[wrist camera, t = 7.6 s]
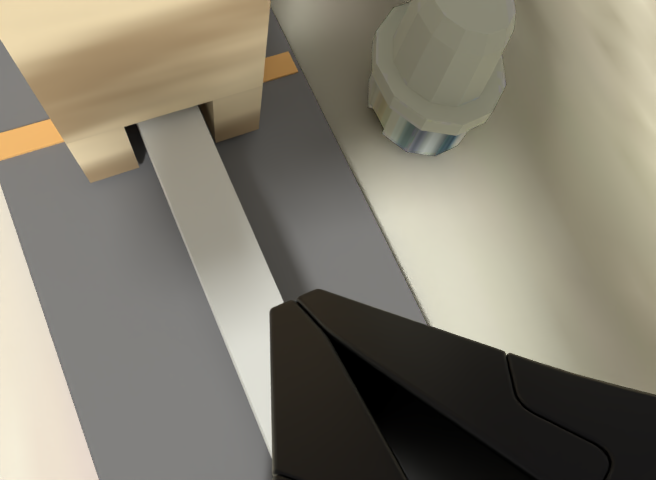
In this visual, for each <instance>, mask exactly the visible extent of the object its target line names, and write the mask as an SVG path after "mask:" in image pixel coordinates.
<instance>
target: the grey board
mask: <svg viewBox="0 0 656 480" xmlns="http://www.w3.org/2000/svg"><path fill="white" fill-rule="evenodd" d="M124 128H125V131H126V134H127V136H128V139H129V141H130V144H131V147H132V149H133V152H134V154H135V157H136V160H137V162H138V165H139V168H136V169H133V170H130V171H127V172H124V173H120V174H117V175H114V176H111V177H108V178H105V179H102V180H99V181H96V182H92V183H90V182H89V180H88V178H87V177H86V175H85V174H84V172H83V170H82V169H81V167H80V166H79V164H78V162H77V161H76V159H75V158H74V156H73V154H72V153H71V151H70V150H69V148H68V146H67V145H66V143H65V142H64V140H63V138H62V137H61V135H60V134H59V132H58V130H57V129H56V127H55V126H54V124H53V123H52V121H51V119H50V118H49V116H48V115H47V113H46V111H45V110H44V108H43V107H42V105H41V103H40V102H39V100H38V99H37V97H36V95H35V94H34V92H33V91H32V89H31V87H30V86H29V84H28V83H27V81H26V79H25V78H24V76H23V75H22V73H21V71H20V70H19V68H18V67H17V65H16V64H15V62H14V60H13V59H12V57H11V56H10V54H9V52H8V51H7V49H6V48H5V46H4V44H3V43H2V41H1V40H0V184H1V187H2V190H3V193H4V196H5V199H6V202H7V205H8V208H9V211H10V214H11V217H12V220H13V223H14V226H15V229H16V232H17V235H18V238H19V241H20V244H21V247H22V250H23V253H24V256H25V259H26V262H27V265H28V268H29V271H30V274H31V277H32V280H33V283H34V286H35V289H36V292H37V295H38V298H39V301H40V304H41V307H42V310H43V313H44V316H45V319H46V322H47V325H48V328H49V331H50V334H51V337H52V340H53V343H54V346H55V349H56V352H57V355H58V358H59V361H60V364H61V367H62V370H63V373H64V376H65V379H66V382H67V385H68V388H69V391H70V394H71V397H72V400H73V403H74V406H75V409H76V412H77V415H78V418H79V421H80V424H81V427H82V430H83V433H84V436H85V439H86V442H87V445H88V448H89V451H90V454H91V457H92V460H93V463H94V466H95V469H96V472H97V475H98V478H99V480H272V478H273V475H272V429H271V376H270V323H269V312H270V309H271V308H273V307H275V306H277V305H279V304H282V303H284V302H286V301H289V300H294V301H295V300H296V298H297V297H298V296H300V295H303V294H305V293H307V292H310V291H312V290H314V289H323V290H325V291H328V292H331V293H334V294H337V295H340V296H343V297H346V298H349V299H352V300H355V301H358V302H361V303H364V304H367V305H370V306H373V307H376V308H379V309H382V310H384V311H387V312H390V313H393V314H396V315H399V316H402V317H405V318H408V319H411V320H414V321H417V322H420V323H423V324H426V325H427V323H426V321H425V319H424V317H423V315H422V313H421V311H420V309H419V307H418V305H417V303H416V301H415V298H414V296H413V294H412V292H411V290H410V288H409V286H408V284H407V282H406V280H405V278H404V276H403V274H402V272H401V270H400V268H399V266H398V264H397V262H396V260H395V258H394V256H393V254H392V252H391V250H390V248H389V246H388V244H387V242H386V240H385V238H384V236H383V234H382V232H381V230H380V228H379V226H378V224H377V222H376V219H375V217H374V215H373V213H372V211H371V209H370V207H369V205H368V203H367V201H366V199H365V197H364V195H363V193H362V191H361V189H360V187H359V185H358V183H357V181H356V179H355V177H354V175H353V173H352V171H351V169H350V167H349V165H348V163H347V161H346V159H345V157H344V155H343V153H342V151H341V149H340V147H339V145H338V143H337V140H336V138H335V136H334V134H333V132H332V130H331V128H330V126H329V124H328V122H327V120H326V118H325V116H324V114H323V112H322V110H321V108H320V106H319V104H318V102H317V100H316V98H315V96H314V94H313V92H312V90H311V88H310V86H309V84H308V82H307V80H306V78H305V76H304V74H303V72H302V70H301V68H300V66H299V64H298V61H297V59H296V57H295V55H294V53H293V51H292V49H291V47H290V45H289V43H288V41H287V39H286V37H285V35H284V33H283V31H282V29H281V27H280V25H279V23H278V21H277V19H276V17H275V15H274V13H273V11H272V9H271V7H270V13H269V24H268V35H267V45H266V56H265V67H264V78H263V88H262V99H261V110H260V121H259V129H257V130H254V131H251V132H248V133H245V134H242V135H239V136H236V137H232V138H229V139H226V140H223V141H220V142H217V143H215V140H214V138H213V136H212V134H211V131H210V129H209V127H208V124H207V122H206V120H205V118H204V115H203V113H202V111H201V108H200V106H199V105H196V106H193V107H189V108H186V109H183V110H179V111H176V112H172V113H169V114H166V115H162V116H159V117H156V118H152V119H149V120H146V121H142V122H139V123H136V124H132V125H129V126H125V127H124Z"/></svg>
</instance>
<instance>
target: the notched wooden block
mask: <svg viewBox="0 0 656 480" xmlns="http://www.w3.org/2000/svg"><path fill="white" fill-rule="evenodd" d="M270 2H271V0H0V40H1V41H2V43H3V44H4V46H5V48H6V49H7V51H8V52H9V54H10V56H11V57H12V59H13V60H14V62H15V64H16V65H17V67H18V68H19V70H20V71H21V73H22V75H23V76H24V78H25V79H26V81H27V83H28V84H29V86H30V87H31V89H32V91H33V92H34V94H35V95H36V97H37V99H38V100H39V102H40V103H41V105H42V107H43V108H44V110H45V111H46V113H47V115H48V116H49V118H50V119H51V121H52V123H53V124H54V126H55V127H56V129H57V130H58V132H59V134H60V135H61V137H62V138H63V140H64V142H65V143H66V145H67V146H68V148H69V150H70V151H71V153H72V154H73V156H74V158H75V159H76V161H77V162H78V164H79V166H80V167H81V169H82V170H83V172H84V174H85V175H86V177H87V178H88V180H89V182H90V183H92V182H96V181H99V180H102V179H105V178H108V177H111V176H114V175H117V174H120V173H124V172H127V171H130V170H133V169H136V168H139V165H138V162H137V160H136V157H135V154H134V152H133V149H132V147H131V144H130V141H129V139H128V136H127V134H126V131H125V128H124V127H125V126H129V125H132V124H136V123H139V122H142V121H146V120H149V119H152V118H156V117H159V116H162V115H166V114H169V113H172V112H176V111H179V110H183V109H186V108H189V107H193V106H196V105H199V106H200V108H201V111H202V113H203V115H204V118H205V120H206V122H207V124H208V127H209V129H210V131H211V134H212V136H213V138H214V140H215V143H217V142H220V141H223V140H226V139H229V138H232V137H236V136H239V135H242V134H245V133H248V132H251V131H254V130H257V129H259V121H260V110H261V99H262V88H263V78H264V67H265V56H266V45H267V35H268V24H269V13H270Z"/></svg>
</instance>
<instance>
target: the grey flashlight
mask: <svg viewBox="0 0 656 480" xmlns="http://www.w3.org/2000/svg"><path fill="white" fill-rule="evenodd" d="M515 15H516V9H515V3H514V0H411V2H409V3H406V4H403V5H400V6H397V7H394V8H393V9H392V10H391V12H390V13H389V14H388V16H387V17H386V18H385V20H384V21H383V22H382V24H381V25H380V27H379V28H378V29H377V31H376V34H375V37H374V40H373V43H372V73H371V76H370V79H369V88H368V107H369V108H373V109H374V111H375V113H376V115H377V116H378V118H379V120H380V122H381V124H382V126H383V128H384V130H383V132H382V134H383V135H384V136H386V137H387V138H388V139H390V140H391V141H393V142H394V143H395V144H397V145H398V146H399V147H401V148H402V149H403V150H405V151H406V152H411V153H418V154H425V155H431V156H436V155H438V154H440V153H442V152H445V151H447V150H449V149H451V148H453V147H455V146H458V144H459V143H460V142H461V140H462V139H463V137H464V136H465V134H466V133H467V131H468V130H470V129H472V128H475V127H477V126H479V125H481V124H483V123H485V122H486V120H487V119H488V118H489V116H490V115H491V113H492V112H493V110H494V108H495V106H496V104H497V102H498V100H499V98H500V96H501V94H502V92H503V90H504V88H505V86H506V80H505V72H504V64H503V56H502V53H503V51H504V49H505V47H506V45H507V43H508V41H509V39H510V37H511V35H512V33H513V31H514V25H515Z"/></svg>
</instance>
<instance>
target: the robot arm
mask: <svg viewBox="0 0 656 480" xmlns="http://www.w3.org/2000/svg"><path fill="white" fill-rule="evenodd" d="M269 323H270V376H271V429H272V475H273V478H272V480H656V395H655V394H651V393H647V392H643V391H639V390H635V389H631V388H626V387H622V386H619V385H615V384H611V383H607V382H604V381H600V380H596V379H593V378H589V377H585V376H581V375H578V374H574V373H571V372H568V371H564V370H561V369H558V368H555V367H552V366H548V365H545V364H542V363H539V362H536V361H533V360H530V359H527V358H524V357H521V356H518V355H515V354H512V353H508V354H507V356H506V353H505V352H504V351H503V350H500V349H497V348H494V347H491V346H488V345H485V344H482V343H479V342H476V341H473V340H470V339H467V338H464V337H461V336H458V335H455V334H452V333H449V332H446V331H444V330H441V329H438V328H435V327H432V326H429V325H426V324H423V323H420V322H417V321H414V320H411V319H408V318H405V317H402V316H399V315H396V314H393V313H390V312H387V311H384V310H382V309H379V308H376V307H373V306H370V305H367V304H364V303H361V302H358V301H355V300H352V299H349V298H346V297H343V296H340V295H337V294H334V293H331V292H328V291H325V290H323V289H314V290H312V291H310V292H307V293H305V294H303V295H300V296H298V297H297V298H296V300H295V301H294V300H289V301H286V302H284V303H282V304H279V305H277V306H275V307H273V308H271V309H270V312H269Z"/></svg>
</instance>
